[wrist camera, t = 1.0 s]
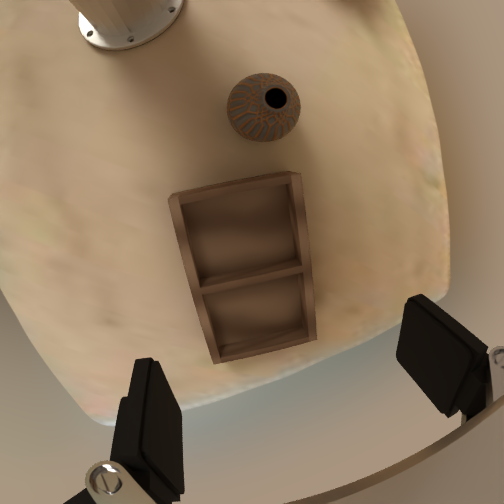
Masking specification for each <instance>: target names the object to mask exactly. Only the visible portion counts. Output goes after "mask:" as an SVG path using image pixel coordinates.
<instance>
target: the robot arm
mask: <svg viewBox="0 0 504 504" xmlns="http://www.w3.org/2000/svg"><path fill="white" fill-rule="evenodd" d="M69 1H70V2H71V3H72V4H73V5H74V6H75V7H76V9H77V10H78V11H79V12H80V13H79V19H78V24H79V29H80V32H81V34H82V36H83V37H84V38H85V39H86V40H87V41H88V42H89V43H90V44H92V45H94V46H96V47H97V48H101V49H105V50H124V49H129V48H133V47H136V46H139V45H141V44H144V43H146V42H148V41H150V40H152V39H154V38H156V37H157V36H158V35H160V34H161V33H162V32H164V31H165V30H166V29H167V28H168V27H169V26H170V25H171V24H172V23H173V22H174V20H175V19H176V18H177V16H178V15H179V13H180V11H181V9H182V5H183V0H69ZM171 12H172V13H171ZM91 35H92V36H91ZM132 40H134V41H133V42H131V41H132ZM487 349H488V346H486V345H485V344H484V343H483V342H482V341H481V340H479V339H478V338H477V337H476V336H475V335H473V334H472V333H471V332H470V331H468V330H467V329H466V328H465V327H464V326H463V325H461V324H460V323H459V322H458V321H456V320H455V319H454V318H452V317H451V316H450V315H449V314H448V313H446V312H445V311H444V310H442V309H441V308H440V307H439V306H437V305H436V304H435V303H434V302H432V301H431V300H430V299H428V298H427V297H426V296H424V295H423V294H418V295H416V296H413V297H410V298H408V300H407V303H406V304H405V306H404V313H403V319H402V325H401V330H400V336H399V341H398V346H397V351H396V358H397V361H398V362H399V363H400V364H401V366H402V367H403V368H404V369H405V370H406V371H407V373H408V374H409V375H410V376H411V377H412V378H413V380H414V381H415V382H416V383H417V384H418V386H419V387H420V388H421V389H422V391H423V392H424V393H425V394H426V396H427V397H428V398H429V399H430V400H431V402H432V403H433V404H434V405H435V406H436V408H437V409H438V410H439V411H440V412H441V413H444V414H445V415H446V416H447V417H448V418H449V417H451V416H452V415H454V414H455V413H457V412H458V411H459V410H460V411H461V412H462V418H461V426H460V427H459V428H457V429H455V430H454V431H452V432H451V433H449V434H448V435H446V436H445V437H443V438H441V439H440V440H438V441H436V442H435V443H433V444H432V445H430V446H428V447H426V448H424V449H423V450H421V451H419V452H417V453H415V454H414V455H412V456H410V457H408V458H406V459H404V460H402V461H400V462H398V463H396V464H394V465H392V466H390V467H388V468H385V469H383V470H381V471H379V472H377V473H374V474H372V475H370V476H367V477H365V478H362V479H360V480H357V481H355V482H352V483H350V484H347V485H344V486H342V487H339V488H336V489H333V490H330V491H327V492H324V493H321V494H318V495H314V496H311V497H307V498H304V499H301V500H296V501H293V502H289V503H284V504H504V347H503V346H498V347H495V348H493V349H492V350H491V351H490V353H489V354H487V353H486V352H487ZM85 485H86V488H85V489H84V490H82V491H81V492H80V493H78V494H77V495H75V496H74V497H72V498H71V499H69V500H68V501H66V502H65V503H63V504H172V502H176V501H180V494H184V491H185V490H184V489H185V488H184V471H183V442H182V414H181V410H180V407H179V405H178V403H177V401H176V399H175V397H174V395H173V392H172V390H171V388H170V386H169V384H168V381H167V379H166V377H165V375H164V372H163V370H162V368H161V365H160V363H159V361H154V360H153V359H152V358H151V357H150V358H142V359H136V360H135V363H134V368H133V373H132V377H131V382H130V387H129V392H128V396H127V397H122V398H121V401H120V405H119V410H118V415H117V420H116V426H115V431H114V437H113V443H112V449H111V456H110V461H101V462H98V463H96V464H94V465H93V466H92V467H91V468H90V469H89V470H88V472H87V473H86V477H85Z"/></svg>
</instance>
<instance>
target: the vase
mask: <svg viewBox="0 0 504 504" xmlns="http://www.w3.org/2000/svg"><path fill="white" fill-rule="evenodd" d="M300 109H301V105H300V99H299V96H298V93H297V92H296V90H295V88H294V87H293V86H292V85H291V84H290V83H289V82H288V81H287V80H285V79H284V78H282V77H280V76H277V75H274V74H269V73H260V74H254V75H251V76H248V77H246V78H244V79H243V80H241V81H240V82H239V83H238V84H237V85H236V86H235V87H234V88H233V90H232V91H231V93H230V96H229V98H228V103H227V114H228V118H229V121H230V123H231V125H232V126H233V128H234V129H235V130H236V131H237V132H238V133H239V134H240V135H242V136H243V137H245V138H247V139H249V140H252V141H257V142H270V141H274V140H277V139H280V138H282V137H284V136H285V135H287V134H288V133H289V132H290V131H291V130H292V129H293V128H294V126H295V125H296V123H297V121H298V119H299V115H300Z"/></svg>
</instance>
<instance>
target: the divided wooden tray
mask: <svg viewBox="0 0 504 504" xmlns="http://www.w3.org/2000/svg"><path fill="white" fill-rule="evenodd" d="M168 203H169V207H170V211H171V216H172V220H173V224H174V228H175V232H176V236H177V240H178V244H179V248H180V252H181V256H182V260H183V264H184V267H185V271H186V275H187V279H188V282H189V286H190V289H191V293H192V296H193V300H194V303H195V307H196V310H197V313H198V317H199V320H200V323H201V327H202V330H203V333H204V336H205V339H206V343H207V346H208V349H209V352H210V355H211V358H212V361H213V364H219V363H224V362H228V361H233V360H238V359H242V358H247V357H251V356H256V355H260V354H264V353H268V352H272V351H276V350H280V349H284V348H288V347H292V346H296V345H299V344H303V343H306V342H310V341H313V340H317V333H316V317H315V303H314V291H313V279H312V268H311V257H310V247H309V238H308V229H307V220H306V212H305V203H304V196H303V188H302V181H301V174H300V173H296V172H291V171H287V172H280V173H274V174H268V175H262V176H257V177H251V178H246V179H240V180H235V181H230V182H225V183H220V184H215V185H210V186H205V187H200V188H196V189H191V190H187V191H182V192H178V193H174V194H172V195H171V196H170V197H169V198H168Z"/></svg>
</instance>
